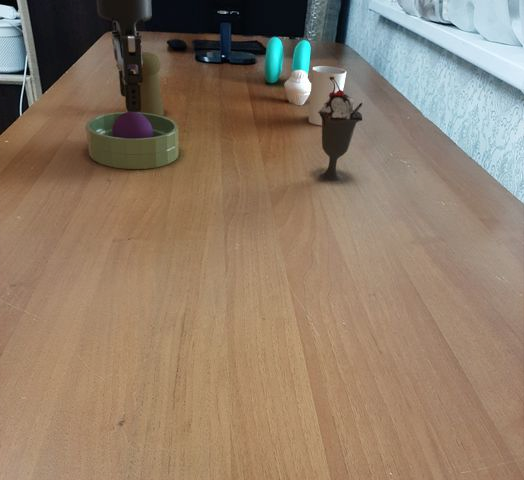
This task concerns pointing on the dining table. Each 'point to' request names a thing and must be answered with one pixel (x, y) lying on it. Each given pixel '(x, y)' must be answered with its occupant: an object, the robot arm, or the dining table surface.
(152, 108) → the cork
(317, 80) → the white paper cup
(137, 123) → the ball
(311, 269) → the dining table surface
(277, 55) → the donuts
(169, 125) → the bowl
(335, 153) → the sundae
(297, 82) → the muffin
